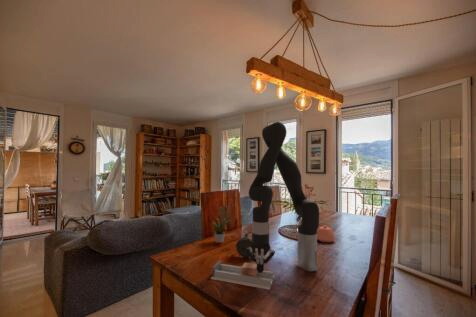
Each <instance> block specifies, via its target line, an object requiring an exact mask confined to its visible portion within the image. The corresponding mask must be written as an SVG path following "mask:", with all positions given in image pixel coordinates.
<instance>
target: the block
mask: <svg viewBox="0 0 476 317" xmlns="http://www.w3.org/2000/svg"><path fill="white" fill-rule="evenodd" d="M241 267H242V275H248V276H254V277H257V276H258V271H257V263H253V262H252V263H251V262H244V263H243V265H242V266H241Z"/></svg>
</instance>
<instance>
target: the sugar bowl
mask: <svg viewBox="0 0 476 317" xmlns="http://www.w3.org/2000/svg"><path fill="white" fill-rule="evenodd" d="M334 240H336V237H335V234H334V231H333V229H332V228H330V227H329V226H327V225H325V224H324V225H322V226H320V227H318V230H317V241H320V242H321V243H332V242H334Z"/></svg>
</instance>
